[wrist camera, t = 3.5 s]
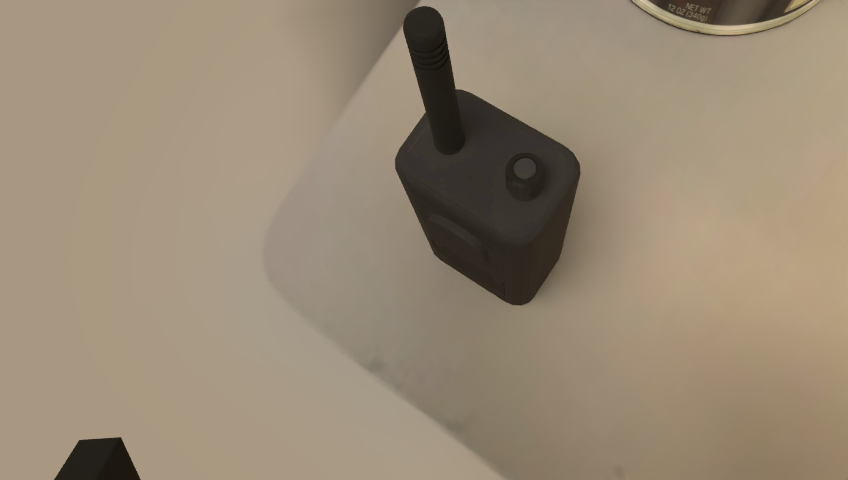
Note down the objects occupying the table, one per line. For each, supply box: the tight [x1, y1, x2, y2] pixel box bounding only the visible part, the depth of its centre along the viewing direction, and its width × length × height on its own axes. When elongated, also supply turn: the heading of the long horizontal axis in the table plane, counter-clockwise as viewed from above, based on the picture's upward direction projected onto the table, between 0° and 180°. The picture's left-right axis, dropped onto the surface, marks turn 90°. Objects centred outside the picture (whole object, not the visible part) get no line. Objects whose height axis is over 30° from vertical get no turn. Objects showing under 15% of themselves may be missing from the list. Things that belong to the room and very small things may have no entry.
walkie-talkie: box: [395, 6, 580, 305], centre depth 20 cm, size 5×3×15 cm
